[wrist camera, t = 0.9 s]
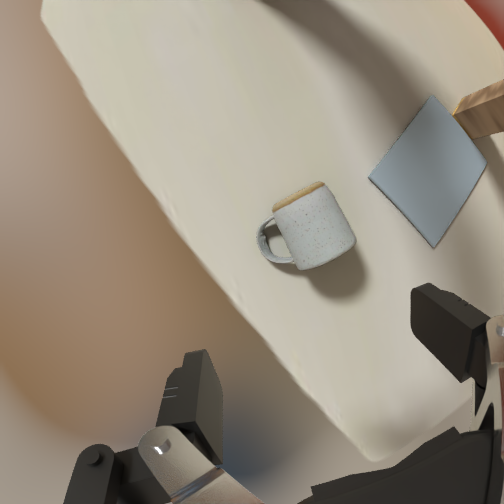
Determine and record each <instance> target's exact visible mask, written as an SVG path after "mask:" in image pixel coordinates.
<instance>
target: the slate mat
mask: <svg viewBox="0 0 504 504" xmlns="http://www.w3.org/2000/svg"><path fill="white" fill-rule="evenodd" d="M486 164H487V161H486V160H485V158H484V157H483V155H482V154H481V152H480V151H479V150H478V148H477V147H476V146H475V144H474V143H473V142H472V140H471V139H470V138H469V136H468V135H467V134H466V132H465V131H464V130H463V129H462V127H461V126H460V125H459V124H458V123H457V121H456V120H455V119H454V118H453V117H452V115H451V114H450V113H449V112H448V111H447V110H446V108H445V107H444V106H443V105H442V104H441V103H440V102H439V101H438V100H437V99H436V97H435V96H434V95H431V96H430V97H429V99H428V100H427V102H426V103H425V104H424V106H423V107H422V108H421V110H420V111H419V112H418V114H417V115H416V116H415V118H414V119H413V120H412V122H411V123H410V124H409V126H408V127H407V128H406V129H405V131H404V132H403V133H402V135H401V136H400V137H399V139H398V140H397V141H396V142H395V144H394V145H393V146H392V148H391V149H390V150H389V151H388V153H387V154H386V155H385V156H384V158H383V159H382V160H381V162H380V163H379V164H378V165H377V167H376V168H375V169H374V170H373V172H372V173H371V174H370V175H369V177H368V178H369V179H370V180H371V181H372V182H373V183H374V184H375V185H376V186H377V187H378V188H379V189H380V190H381V191H382V192H383V193H384V194H385V195H386V196H387V197H388V198H389V199H390V200H391V201H392V202H393V203H394V204H395V206H396V207H397V208H398V209H399V210H400V211H401V212H402V213H403V214H404V215H405V216H406V217H407V219H408V220H409V221H410V222H411V223H412V224H413V225H414V226H415V228H416V229H417V230H418V231H419V232H420V233H421V234H422V236H423V237H424V238H425V239H426V240H427V242H428V243H429V244H430V245H431V246H432V247H435V245H436V244H437V242H438V241H439V240H440V238H441V237H442V235H443V234H444V232H445V231H446V230H447V228H448V227H449V225H450V224H451V222H452V221H453V219H454V218H455V216H456V215H457V213H458V211H459V210H460V208H461V207H462V205H463V204H464V202H465V200H466V199H467V197H468V195H469V194H470V192H471V190H472V189H473V187H474V185H475V184H476V182H477V180H478V178H479V177H480V175H481V173H482V171H483V170H484V168H485V166H486Z"/></svg>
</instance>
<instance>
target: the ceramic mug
mask: <svg viewBox="0 0 504 504" xmlns="http://www.w3.org/2000/svg"><path fill="white" fill-rule="evenodd" d="M272 211H273V215H272V216H271V217H269V218H267V219H266V220H265V221H264V222H263V223H262V224H261V225H260V226H259V228H258V231H257V237H256V238H257V244H258V247H259V249H260V251H261V253H262V254H263V256H264V257H265V258H267V259H268V260H270V261H272V262H275V263H291V262H295V264H296V266H297V268H298V269H299V270H308V269H312V268H315V267H318V266H321V265H323V264H326V263H327V262H330V261H332V260H334V259H335V258H337V257H339V256H340V255H342V254H344V253H345V252H347V251H348V250H350V249H351V248H352V247H353V246H354V244H355V243H356V237H355V235H354V233H353V231H352V229H351V227H350V225H349V223H348V221H347V219H346V217H345V216H344V214H343V212H342V210H341V208H340V207H339V205H338V203H337V201H336V199H335V197H334V195H333V194H332V192H331V191H330V189H329V188H328V187H327V186H326V185H325V184H324V183H323V182H316V183H314V184H312V185H310V186H308V187H306V188H304V189H302V190H300V191H298V192H296V193H294V194H293V195H291V196H289V197H287V198H285V199H283V200H282V201H280V202H278V203H276V204H275V205H274V206H273V209H272ZM272 219H275V222H276V224H277V226H278V228H279V230H280V232H281V234H282V236H283V238H284V240H285V242H286V245H287V247H288V249H289V251H290V253H291V255H292V257H288V258H284V257H278V256H275V255H274V254H272V252H271V251H270V250H269V247H268V245H267V243H266V239H265V238H266V236H265V235H264V234H263V232H264V229H265V226H266V225H267V224H268V223H269V222H270V221H271V220H272Z"/></svg>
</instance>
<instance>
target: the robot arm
mask: <svg viewBox="0 0 504 504" xmlns="http://www.w3.org/2000/svg"><path fill="white" fill-rule="evenodd" d="M411 329H412V332H413V334H414V335H415V337H416V338H417V339H418V340H419V341H420V342H421V343H422V344H423V345H424V346H425V347H426V348H427V349H428V350H429V351H430V352H431V353H432V354H433V355H434V356H435V357H436V358H437V359H438V360H439V361H440V362H441V363H442V364H443V365H444V366H445V367H446V368H447V369H448V370H449V371H450V372H451V373H452V374H453V375H454V376H455V378H456V379H457V380H458V381H459V382H460V383H462V382H464V381H465V380H467V379H469V378H470V377H472V378H473V379H474V380H473V384H472V409H471V425H470V430H469V432H464V433H461V434H459V432H458V431H457V430H456V428H455V427H452V428H451V429H449V430H447V431H445V432H444V433H442V434H440V435H438V436H437V437H435V438H433V439H431V440H429V441H427V442H425V443H424V444H423V445H421V446H420V447H419V448H418V449H416V450H415V451H414V452H413V453H411V454H410V455H409V456H408V457H406V458H405V459H404V460H402V461H401V462H400V463H398V464H397V465H395V466H394V467H391V468H388V469H383V470H377V471H372V472H366V473H359V474H352V475H348V476H345V477H342V478H339V479H336V480H332V481H330V482H326V483H322V484H319V485H315V486H311V489H312V493H313V495H312V496H311V497H308V498H307V499H304V500H303V501H301V502H299V503H298V504H504V315H500V316H495V317H492V318H490V317H489V316H487V315H486V314H484V313H483V312H481V311H480V310H478V309H477V308H475V307H474V306H472V305H471V304H468V302H466V301H465V300H462V298H460V297H458V296H457V295H455V294H454V293H451V292H448V291H444V290H440V289H439V288H437V287H436V286H434V285H433V284H431V283H426V284H423V285H421V286H418V287H416V288H413V289H412V291H411ZM222 419H223V394H222V387H221V384H220V381H219V378H218V376H217V373H216V371H215V369H214V366H213V364H212V361H211V359H210V357H209V354H208V352H207V350H205V349H203V350H198V351H193V352H188V353H185V356H184V361H183V365H182V367H180V368H175V369H174V370H173V372H172V373H171V374H170V376H169V377H168V378H167V382H166V386H165V390H164V394H163V399H162V402H161V406H160V410H159V414H158V418H157V423H156V427H155V428H153V429H151V430H149V431H148V432H146V433H145V434H144V435H143V436H142V437H141V439H140V441H139V443H138V447H135V448H132V449H128V450H125V451H122V452H117V453H114V451H113V450H112V449H111V448H110V447H108V446H107V445H104V444H95V445H92V446H90V447H88V448H86V449H85V450H83V451H82V452H81V454H80V455H79V457H78V459H77V462H76V464H75V467H74V470H73V473H72V477H71V480H70V483H69V486H68V490H67V493H66V496H65V500H64V503H63V504H165V503H169V502H172V504H265V503H263V502H262V501H261V500H259V499H258V498H257V497H255V496H254V495H253V494H252V493H250V492H249V491H248V490H246V489H245V488H244V487H243V486H242V485H240V484H239V483H238V482H237V481H236V480H235V479H233V478H232V477H231V476H230V475H229V474H228V473H226V472H225V471H224V470H223V469H221V468H216V467H215V466H214V465H220V464H223V446H222V445H223V441H222V440H223V438H222V437H223V436H222V435H223V426H222V425H223V420H222Z"/></svg>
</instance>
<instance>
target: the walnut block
mask: <svg viewBox="0 0 504 504" xmlns="http://www.w3.org/2000/svg"><path fill="white" fill-rule="evenodd" d="M452 117H453V118H454V119H455V120H456V121H457V123H458V124H459V125H460V126H461V127H462V129H463V130H464V131H465V132H466V134H467V135H468V136H469V138H470V139H475V138H479V137H483V136H487V135H491V134H495V133H499V132H504V79H503V80H501V81H499V82H497V83H494V84H492V85H490V86H488V87H486V88H483V89H481V90H479V91H477V92H475V93H473V94H470V95H468V96H466V97H464V98H462V100H461V102H460V103H459V105H458V106H457V108H456V109H455V111H454V113H453V114H452Z"/></svg>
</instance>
